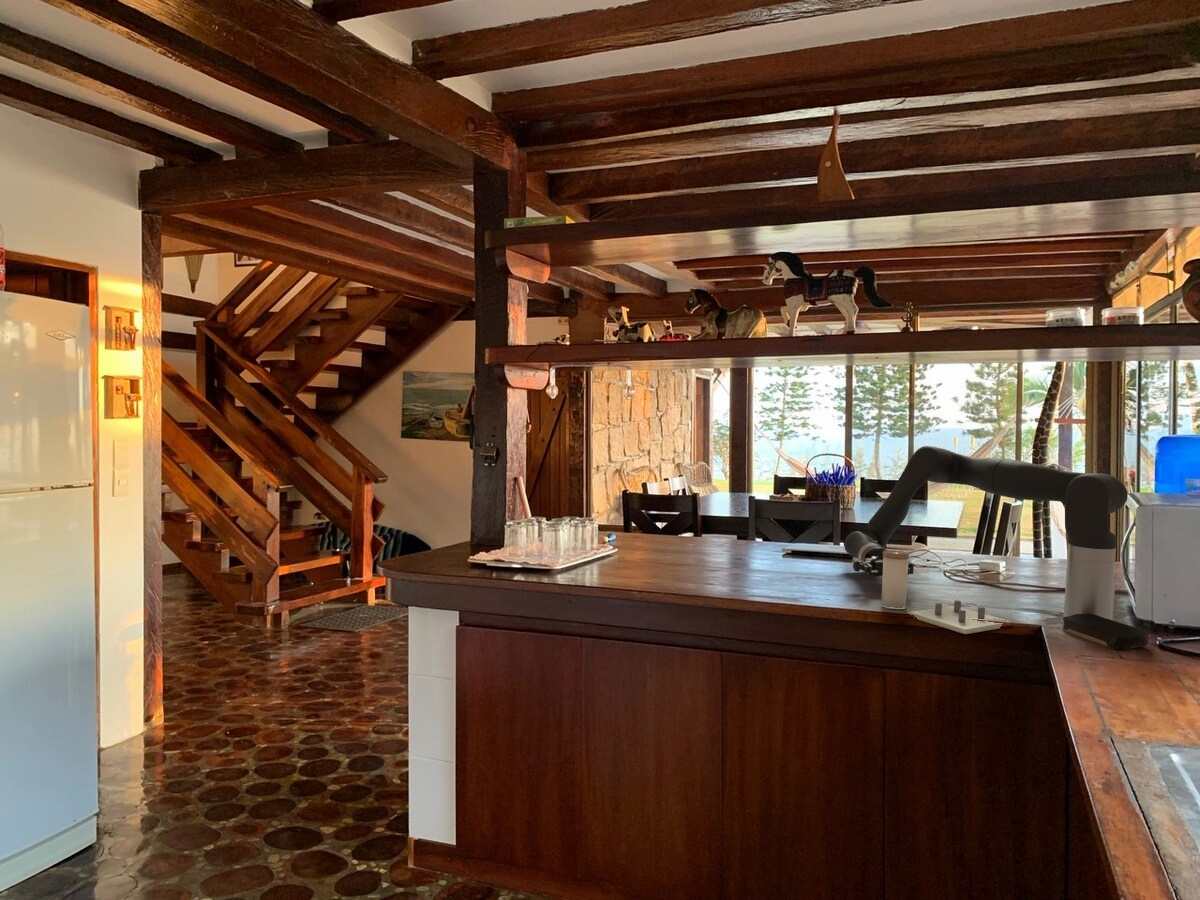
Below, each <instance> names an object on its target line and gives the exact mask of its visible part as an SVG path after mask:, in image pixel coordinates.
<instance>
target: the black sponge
mask: <svg viewBox="0 0 1200 900" xmlns="http://www.w3.org/2000/svg"><path fill="white" fill-rule="evenodd" d="M1062 620H1063V624H1062V630H1061V631H1062V632H1065V633H1067V634H1070V635H1071V634H1072V635H1074V636H1077V637H1078V638H1081V639H1085V640H1088V641H1089V642H1093V643H1095V644H1099V645H1102V646H1105V647H1107V648H1108V649H1112V650H1115V651H1124V650H1130V649H1133V648H1142V647H1146V646H1147V645H1149V639H1150V636H1149V635H1150V633H1149V631H1147V630H1145V629H1142V628H1138V627H1135V626H1133V625H1129V624H1126V623H1122V622H1118V621H1117V620H1116V621H1115V620H1114V619H1113V620H1110V619H1106V618H1103V617H1100V616H1098V615H1094V614H1075V615H1072V616H1067V617H1064V616H1063V617H1062Z"/></svg>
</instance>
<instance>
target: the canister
mask: <svg viewBox="0 0 1200 900" xmlns="http://www.w3.org/2000/svg"><path fill="white" fill-rule="evenodd" d="M909 558H910V553H909V552H907V551H904V550H903V551H902V550H894V549H891V550H889V549H886V551H883V576H882V581H881V582H882V584H881V585H882V586H881V600H880V603H881V605H883V606H887V607H894V608H903V607H906V608H907V594H908V577H909V575H908V560H909ZM881 605H880V606H881Z"/></svg>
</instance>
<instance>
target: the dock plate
mask: <svg viewBox="0 0 1200 900" xmlns="http://www.w3.org/2000/svg"><path fill="white" fill-rule="evenodd" d="M985 612H986V607H983V606H978V607H977V611H976V610H971V609H968V608H964V607H962V601H961V600H957V599H955V600H954V601H953V605H948V606H943V604H942V603H940V602H935V604H934V608H928V609H922V610H916V611H915V610H914V611H909V612H907V613H908V614H911V615H914V616H915V617H916V618H917V619H916V620H919V621H921V622H924V623H927V624H931V625H935V626H937V627H941V628H944V629H947V630H951V631H954V632H957V633H960V634H964V635H968V634H975V633H980V632H985V631H991V630H997V629H1001V628H1000V627H1001V626H1002V624H1003V623H994V622H988V621H977V620H972V619H967V618H966V617H968V618H971V617H976V616H978V619H985V617H986V618H989V619H993V618H996V619H1000V620H1001V619H1002V620H1006V621H1010V620H1007V619H1003V618H1000V617H996V616H993V615H989V614H986V613H985ZM1010 622H1012V620H1011V621H1010Z"/></svg>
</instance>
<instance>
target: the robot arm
mask: <svg viewBox="0 0 1200 900" xmlns="http://www.w3.org/2000/svg"><path fill="white" fill-rule="evenodd" d="M927 482H930V483H931V482H932V483H937V484H955V485H961V486H962V485H964V486H970V487H973V488H976V489H978V490H981V491H983V492H985V493H988V494H991V495H997V496H1000V497H1004V498H1005V497H1006V498H1009V499H1016V500H1026V501H1040V502H1041V501H1044V502H1059V503H1060V502H1061V503H1064V528H1065V532H1066V534H1067V537H1068V538H1067V553H1066V554H1067V555H1066V556H1067V557H1066V571H1065V572H1066V573H1065V574H1066V575H1065V585H1064V586H1065V589H1064V603H1063V604H1064V605H1063V617H1067V616H1072V615H1075V614H1094V615H1098V616H1100V617H1103V618H1106V619H1110V620H1113V621H1114V607H1115V593H1116V591H1115V590H1116V581H1115V570H1116V569H1115V567H1116V554H1117V553H1116V552H1117V536H1116V534H1115V533H1114V532H1111V530H1110V527H1109V514H1112V513H1115V512H1117V511H1119V510H1121V509H1122V508H1123V507H1124V506H1125V504H1126V503H1127V501H1128V497H1129V496H1128V489H1127V487H1126V486H1125V484H1124V483H1123V482H1122V481H1121V480H1120V479H1118V478H1117V477H1115V476H1114V475H1111V474H1108V473H1091V472H1090V473H1089V472H1078V471H1077V472H1075V471H1068V470H1062V469H1057V468H1055V467H1054V468H1053V467H1050V466H1045V465H1041V464H1037V463H1032V462H1028V461H1023V460H1017V459H1011V458H1002V457H982V458H981V457H979V458H978V457H972V456H968V455H965V454H960V453H957V452H954V451H952V450H949V449H945V448H941V447H937V446H931V445H925V446H921V447H919V448H918V449H916V451H915V452H914V453H913V454H912V456H911V457H910V458H909V460H908V462H907V464H906V466H905V467H904V469H903V471H902V472H901V474H900V476H899V478H898V480H897V481H896V483H895V485H894V487H893V489H891V491H890V494H889V495H888V497H887V498H886V500H884V502H883V503H882V504H881V505H880V507H879V508H878V510H877V511H876V512H875V513H874V515H872V516H871V518H870V519H869V520H868V521H867V528H868V530H869V532H870V533H871V534H872V535H873V536H874V537H875V538H876V539H873V538H871V537H870V536H868V535H867V534H866V533H863V532H862V531H857V530H856V531H852V532H850V533H849V534H848V535H847V537H846V538H845V540H844V546H843V547H844V551H845V552H846V553H847V554H849V555H850V556H852V569H853V571H855V572H857V573H858V572H860V571H862V573H866V574H867V575H870V576H875V577H883V551H886V550H887V549H886V545H887V544H888V542H889V540H890V538H891V537H892V536H893V534H894V533H895V532H896V530H898V528H899V527H900V526H901V525H902V523H903V522H904V521H905V519H906V518H907V515H908V513H909V510H910V507H911V503H912V499H913V497H914V495H915V494H916V492H917V491H918V490H919V489H920V488H921V487H922V486H923V485H924V484H925V483H927ZM914 568H915V564H914V563H913V562H912V561H910V560H909V559H908V576H909V575H913V574H914V573H915V572H914V571H915V570H914Z"/></svg>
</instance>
